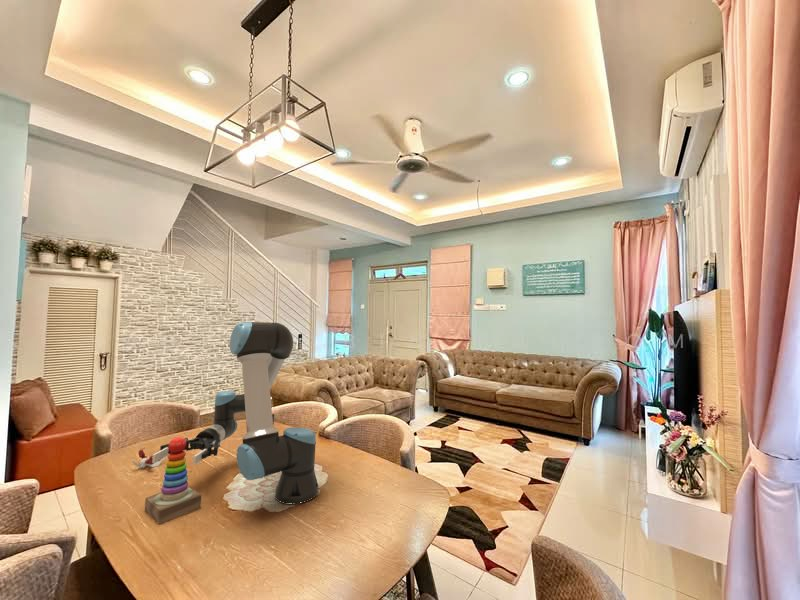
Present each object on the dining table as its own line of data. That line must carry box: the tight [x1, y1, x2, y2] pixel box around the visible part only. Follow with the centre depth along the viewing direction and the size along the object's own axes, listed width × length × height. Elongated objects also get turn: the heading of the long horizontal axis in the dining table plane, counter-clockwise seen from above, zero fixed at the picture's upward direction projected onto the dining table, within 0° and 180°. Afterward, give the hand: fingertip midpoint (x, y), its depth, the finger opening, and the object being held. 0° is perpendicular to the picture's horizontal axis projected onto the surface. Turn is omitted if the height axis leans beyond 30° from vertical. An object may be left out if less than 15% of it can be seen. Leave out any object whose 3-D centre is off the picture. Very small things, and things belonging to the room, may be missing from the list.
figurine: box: [132, 447, 167, 469], centre depth 143 cm, size 15×12×7 cm
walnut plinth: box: [144, 485, 202, 525], centre depth 113 cm, size 12×12×4 cm
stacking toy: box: [160, 436, 189, 500], centre depth 114 cm, size 8×8×19 cm
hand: (173, 459), depth 113 cm, fingers open, 13 cm apart
